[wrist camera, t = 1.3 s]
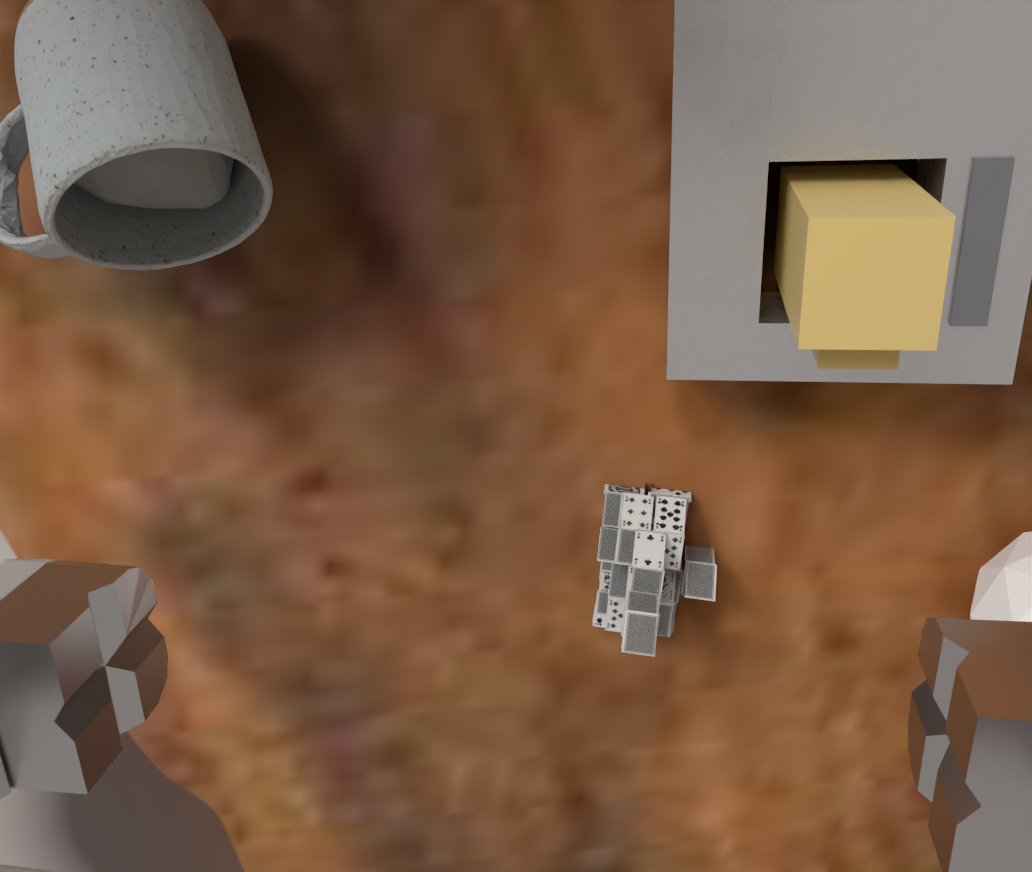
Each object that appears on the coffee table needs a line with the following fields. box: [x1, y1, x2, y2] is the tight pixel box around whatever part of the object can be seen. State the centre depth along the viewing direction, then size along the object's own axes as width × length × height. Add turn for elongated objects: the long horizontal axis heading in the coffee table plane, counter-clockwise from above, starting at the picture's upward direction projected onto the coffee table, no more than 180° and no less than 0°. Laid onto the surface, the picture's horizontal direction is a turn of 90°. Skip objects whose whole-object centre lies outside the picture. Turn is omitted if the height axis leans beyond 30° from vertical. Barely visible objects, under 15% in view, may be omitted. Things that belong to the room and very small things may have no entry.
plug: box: [774, 164, 956, 370], centre depth 33 cm, size 5×4×9 cm
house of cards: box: [592, 483, 717, 657], centre depth 41 cm, size 9×9×8 cm
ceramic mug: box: [0, 0, 273, 270], centre depth 34 cm, size 11×8×8 cm
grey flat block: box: [667, 0, 1032, 385], centre depth 32 cm, size 22×12×4 cm, turn 3°
